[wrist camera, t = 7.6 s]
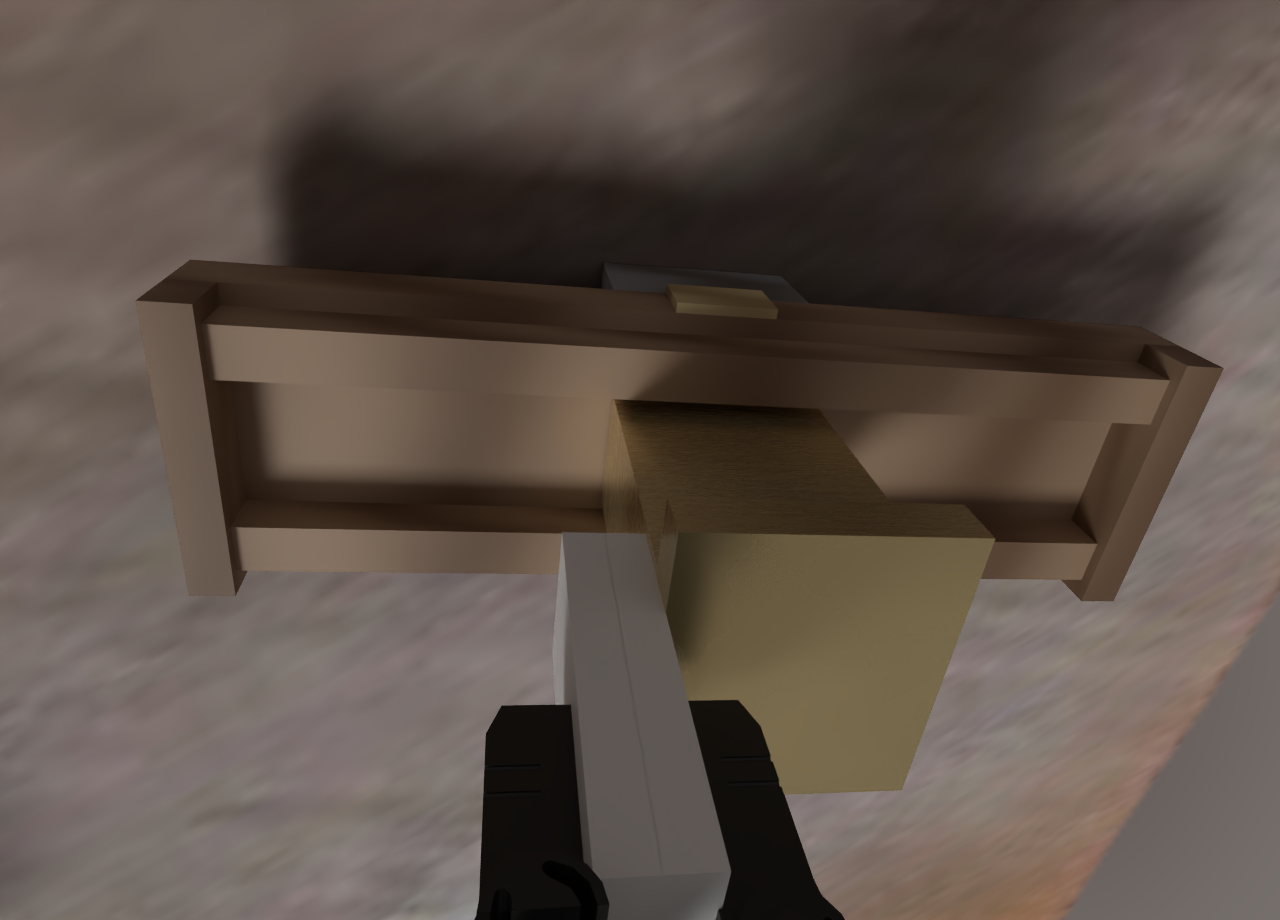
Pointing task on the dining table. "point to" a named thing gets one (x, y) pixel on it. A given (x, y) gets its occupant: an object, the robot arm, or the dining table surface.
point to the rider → (795, 581)
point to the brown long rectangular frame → (629, 370)
